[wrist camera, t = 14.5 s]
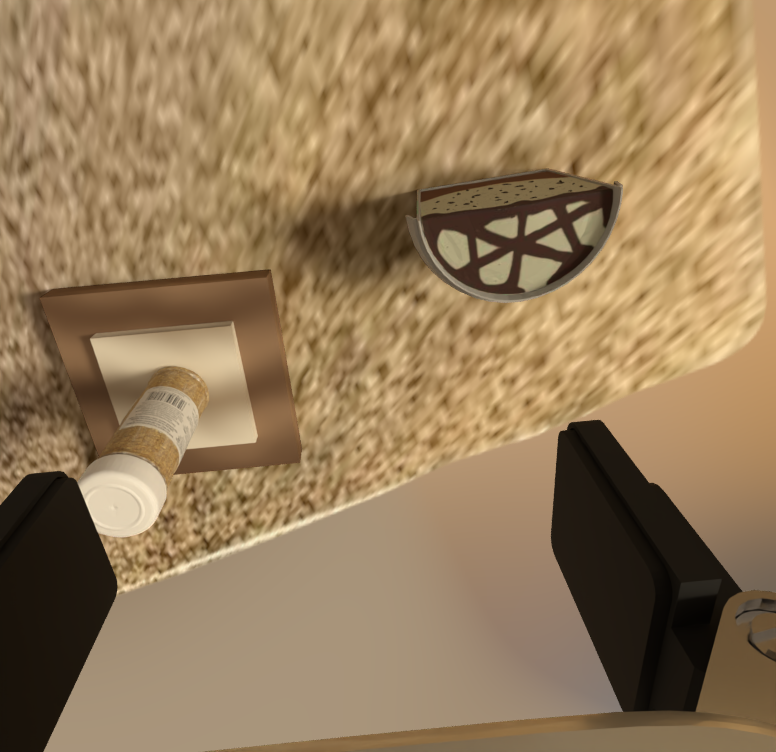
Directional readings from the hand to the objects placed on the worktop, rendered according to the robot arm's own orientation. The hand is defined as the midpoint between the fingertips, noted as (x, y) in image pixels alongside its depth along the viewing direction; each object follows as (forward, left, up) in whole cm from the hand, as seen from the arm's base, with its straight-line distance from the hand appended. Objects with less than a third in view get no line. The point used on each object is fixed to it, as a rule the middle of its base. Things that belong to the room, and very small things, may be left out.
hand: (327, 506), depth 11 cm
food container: (+2, +10, -32) cm, 34 cm away
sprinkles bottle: (+12, -14, -30) cm, 35 cm away
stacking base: (+12, -14, -32) cm, 37 cm away
